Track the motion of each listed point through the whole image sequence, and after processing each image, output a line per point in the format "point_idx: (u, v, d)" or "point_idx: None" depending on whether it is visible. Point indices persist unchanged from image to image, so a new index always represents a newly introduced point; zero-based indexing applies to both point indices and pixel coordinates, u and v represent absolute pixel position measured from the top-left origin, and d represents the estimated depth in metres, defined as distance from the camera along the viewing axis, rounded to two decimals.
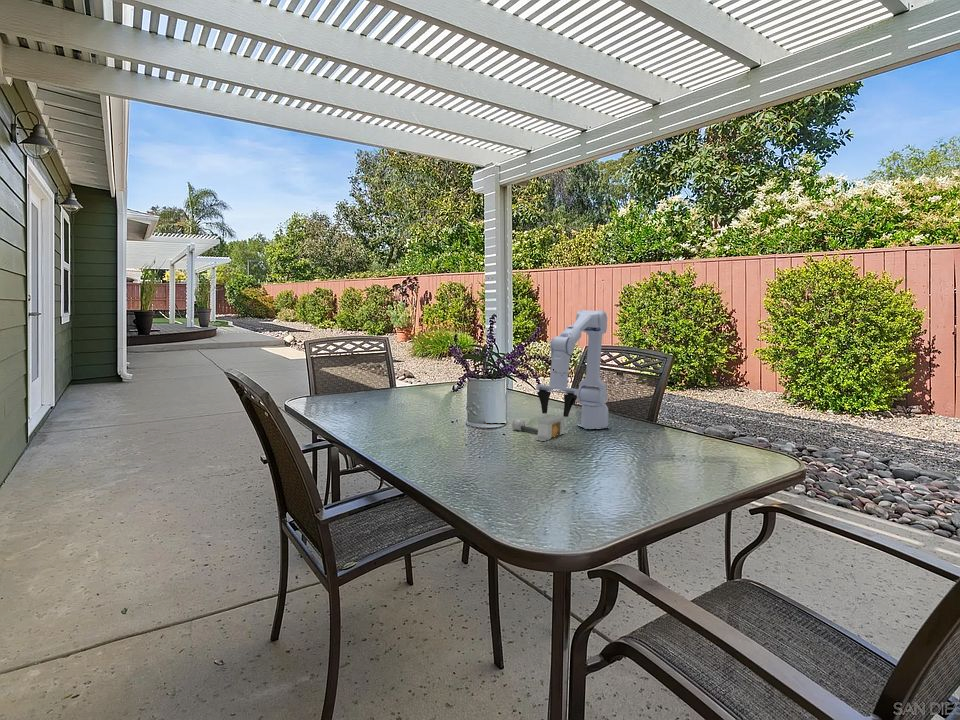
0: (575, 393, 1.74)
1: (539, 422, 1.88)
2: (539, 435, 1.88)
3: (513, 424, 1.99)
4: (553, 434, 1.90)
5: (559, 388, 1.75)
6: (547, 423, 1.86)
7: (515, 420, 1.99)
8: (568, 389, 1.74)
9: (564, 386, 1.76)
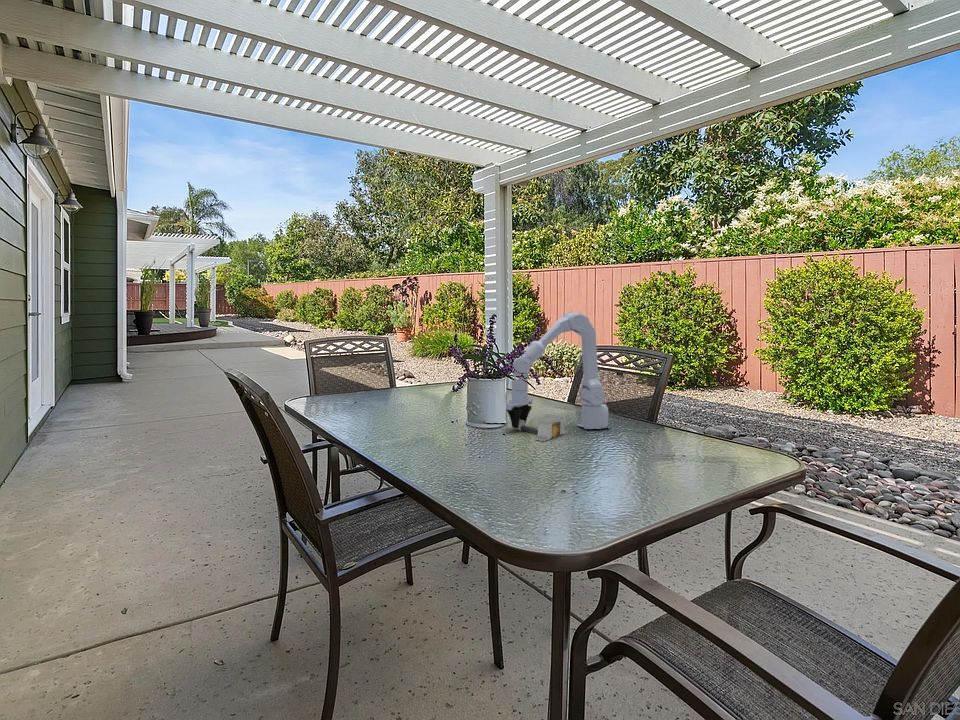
0: None
1: (539, 422, 1.88)
2: (539, 435, 1.88)
3: None
4: (553, 434, 1.90)
5: None
6: (547, 423, 1.86)
7: None
8: None
9: (513, 401, 1.97)
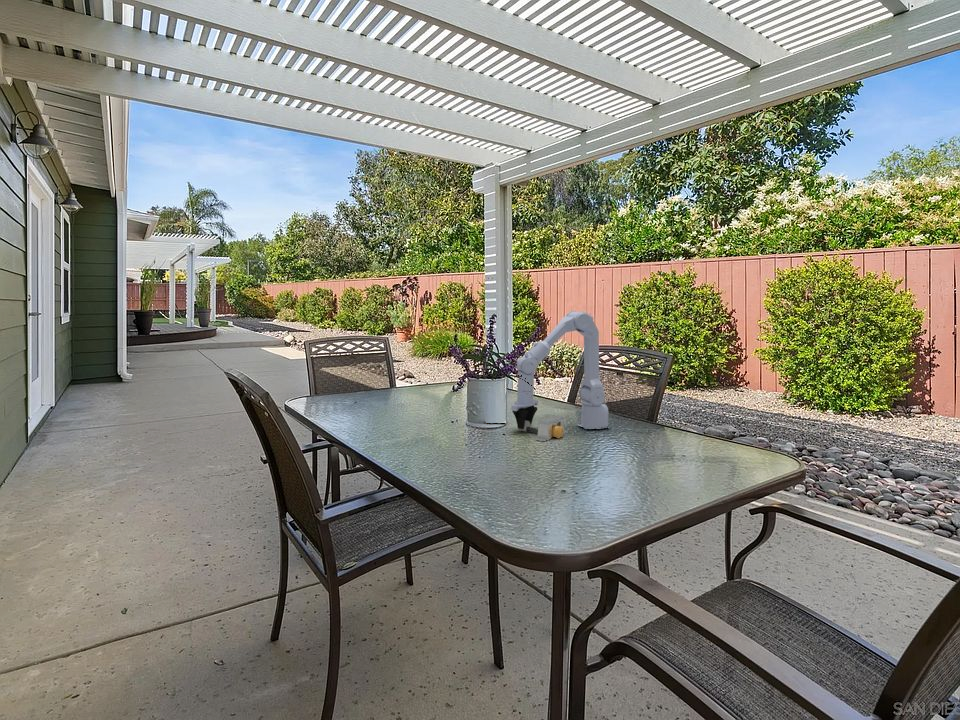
0: None
1: (539, 422, 1.88)
2: (539, 435, 1.88)
3: None
4: (559, 435, 1.89)
5: None
6: (547, 423, 1.86)
7: None
8: None
9: (518, 402, 1.96)
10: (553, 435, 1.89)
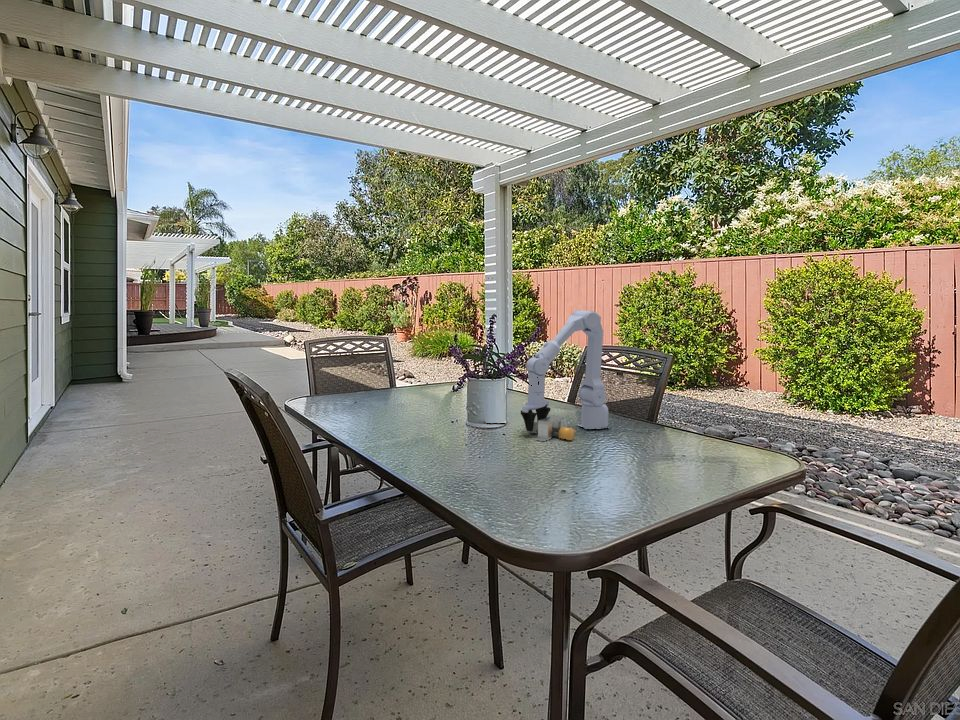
0: None
1: (539, 422, 1.88)
2: (539, 435, 1.88)
3: None
4: (570, 437, 1.86)
5: None
6: (547, 423, 1.86)
7: None
8: None
9: (529, 403, 1.93)
10: (564, 437, 1.87)
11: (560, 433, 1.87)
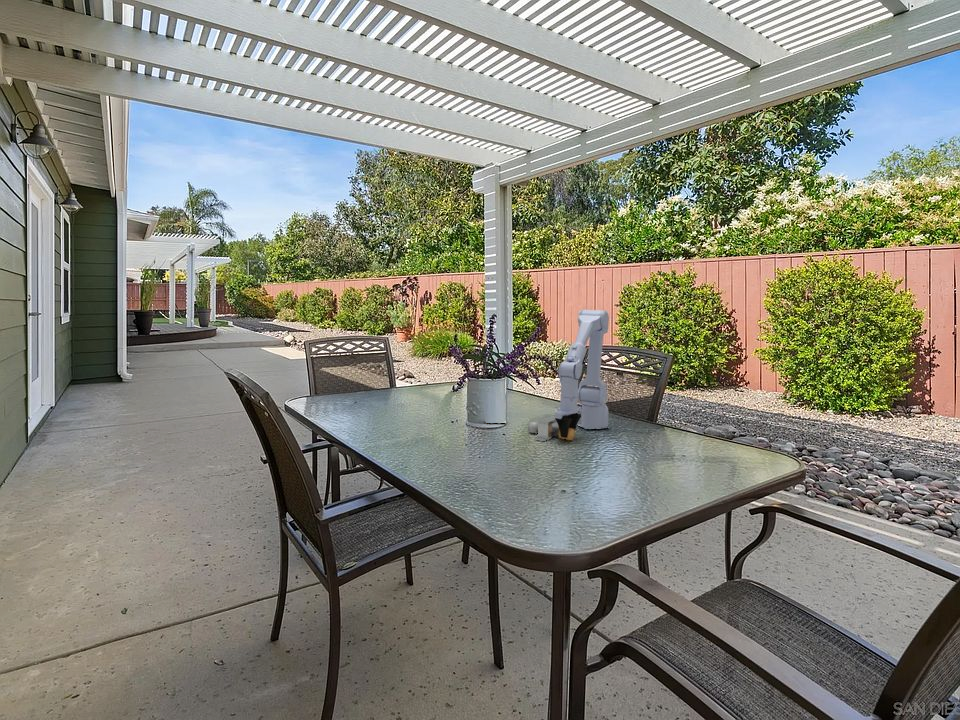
0: None
1: (539, 422, 1.88)
2: (539, 435, 1.88)
3: (529, 427, 1.95)
4: (570, 437, 1.86)
5: (559, 410, 1.87)
6: (547, 423, 1.86)
7: (531, 423, 1.95)
8: (557, 412, 1.84)
9: (562, 409, 1.85)
10: None
11: None
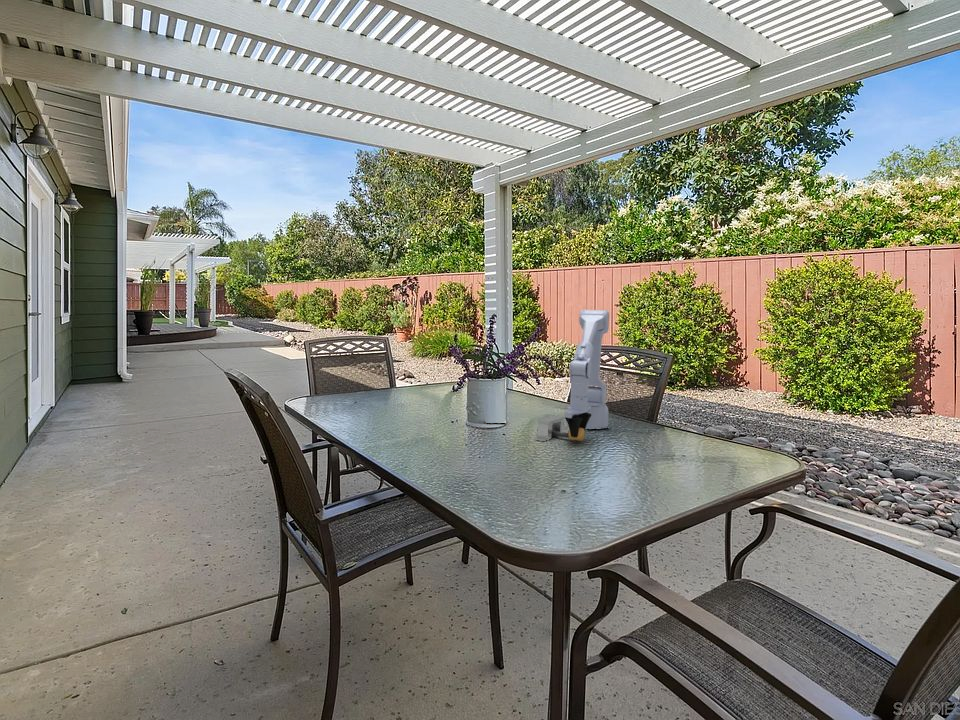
0: None
1: (539, 422, 1.88)
2: (539, 435, 1.88)
3: None
4: (580, 437, 1.84)
5: (569, 409, 1.85)
6: (547, 423, 1.86)
7: None
8: (567, 411, 1.82)
9: (572, 408, 1.83)
10: (574, 437, 1.84)
11: None
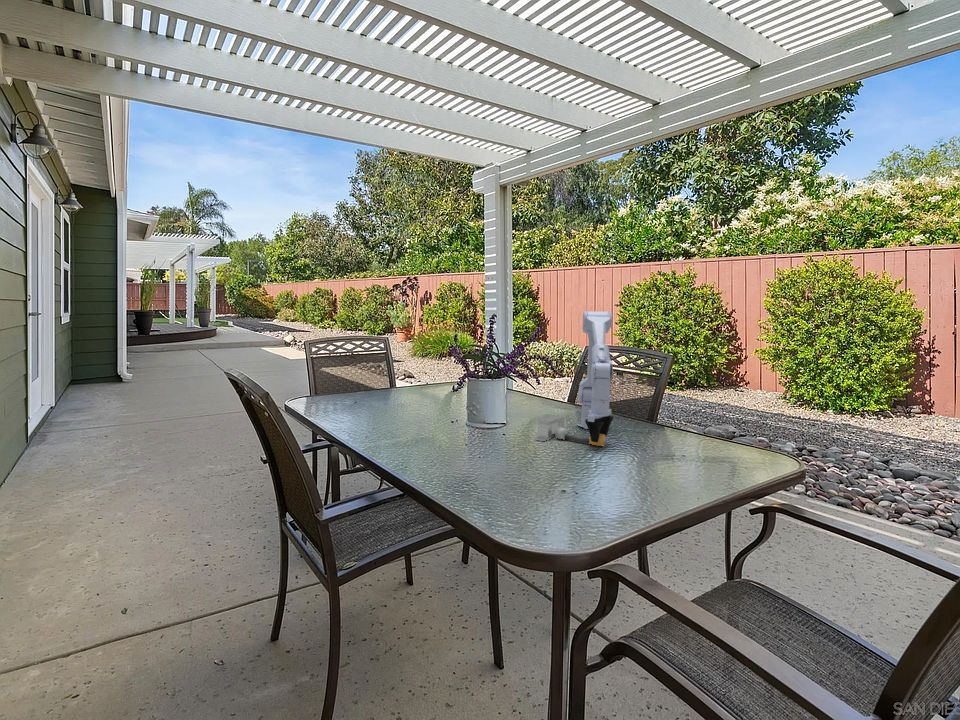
0: None
1: (539, 422, 1.88)
2: (539, 435, 1.88)
3: (556, 433, 1.87)
4: (602, 444, 1.79)
5: (590, 413, 1.80)
6: (547, 423, 1.86)
7: (558, 429, 1.88)
8: None
9: (594, 411, 1.78)
10: (595, 444, 1.79)
11: None
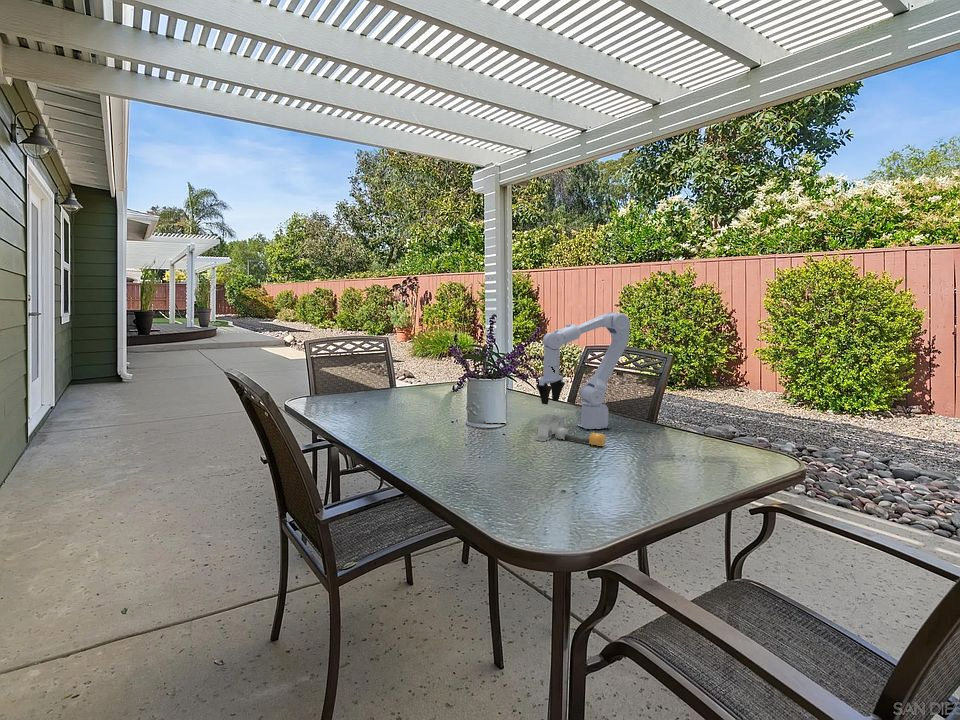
0: None
1: (539, 422, 1.88)
2: (539, 435, 1.88)
3: (556, 433, 1.87)
4: (602, 444, 1.79)
5: (542, 378, 2.01)
6: (547, 423, 1.86)
7: (558, 429, 1.88)
8: (540, 379, 1.98)
9: (545, 377, 1.99)
10: (595, 444, 1.79)
11: (591, 440, 1.80)
